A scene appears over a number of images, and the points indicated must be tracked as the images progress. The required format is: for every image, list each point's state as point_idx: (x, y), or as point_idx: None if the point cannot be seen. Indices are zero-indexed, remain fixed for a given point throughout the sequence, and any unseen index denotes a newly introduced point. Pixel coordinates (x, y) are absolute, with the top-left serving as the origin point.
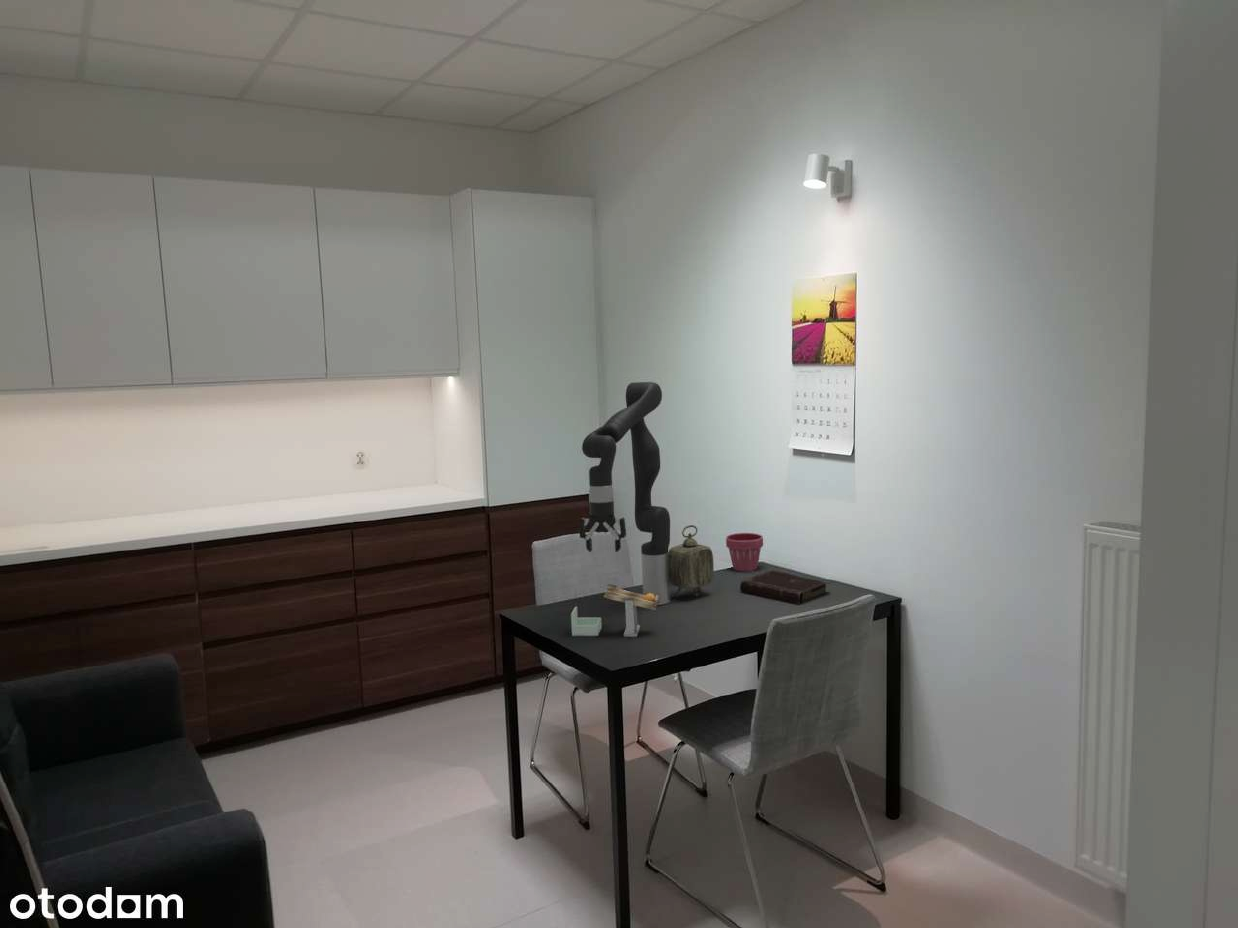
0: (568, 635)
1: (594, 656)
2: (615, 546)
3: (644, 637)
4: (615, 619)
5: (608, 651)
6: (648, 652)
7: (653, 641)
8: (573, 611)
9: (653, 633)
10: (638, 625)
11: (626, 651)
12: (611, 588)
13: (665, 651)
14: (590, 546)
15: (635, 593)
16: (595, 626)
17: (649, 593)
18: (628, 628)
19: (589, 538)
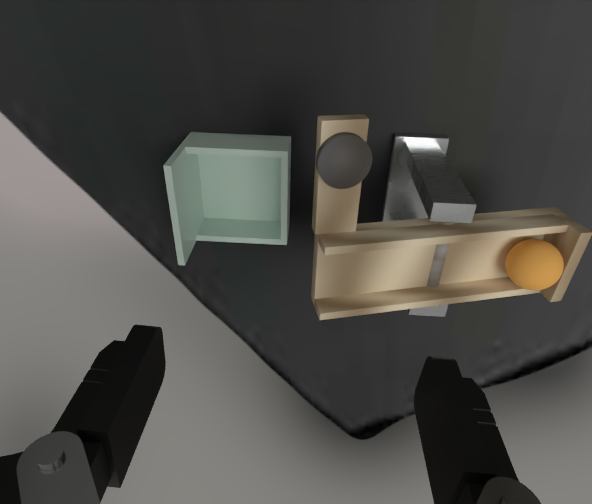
0: None
1: (301, 366)
2: (425, 448)
3: None
4: (341, 7)
5: (335, 340)
6: (444, 353)
7: None
8: (178, 235)
9: (487, 208)
10: (442, 147)
11: (384, 343)
12: (346, 250)
13: (491, 350)
14: (147, 413)
15: (472, 238)
16: (279, 242)
17: (543, 279)
18: None
19: (99, 500)
